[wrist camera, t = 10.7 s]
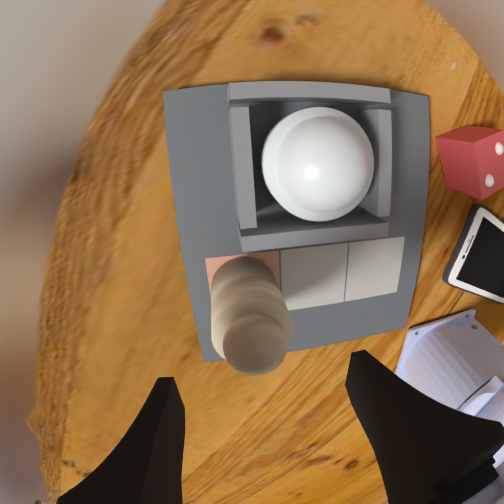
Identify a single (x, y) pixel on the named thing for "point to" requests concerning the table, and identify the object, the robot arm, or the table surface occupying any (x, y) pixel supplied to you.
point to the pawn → (249, 317)
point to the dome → (317, 163)
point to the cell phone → (479, 256)
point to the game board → (290, 226)
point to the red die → (473, 160)
